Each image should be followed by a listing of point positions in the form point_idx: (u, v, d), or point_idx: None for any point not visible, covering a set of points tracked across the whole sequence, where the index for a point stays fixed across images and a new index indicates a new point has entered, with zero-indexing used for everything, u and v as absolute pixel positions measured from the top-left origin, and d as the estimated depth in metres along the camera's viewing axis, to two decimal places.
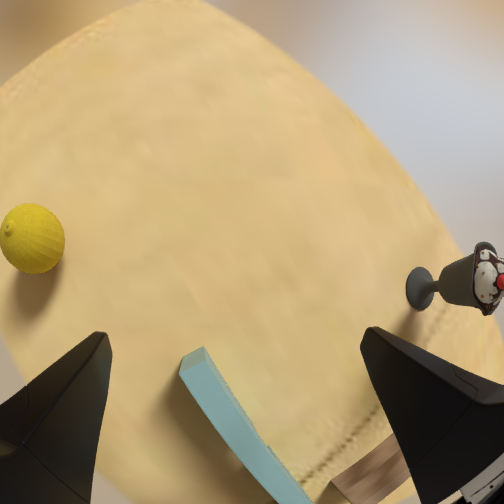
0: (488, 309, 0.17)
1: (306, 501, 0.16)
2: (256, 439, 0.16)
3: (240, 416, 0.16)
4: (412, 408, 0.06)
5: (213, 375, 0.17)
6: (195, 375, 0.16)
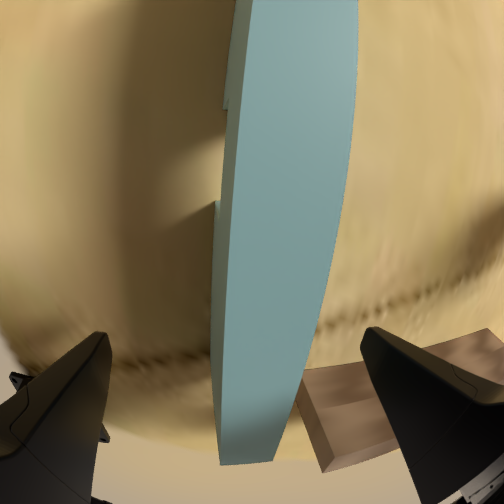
0: None
1: (290, 399, 0.07)
2: (353, 30, 0.04)
3: None
4: (412, 408, 0.06)
5: None
6: None
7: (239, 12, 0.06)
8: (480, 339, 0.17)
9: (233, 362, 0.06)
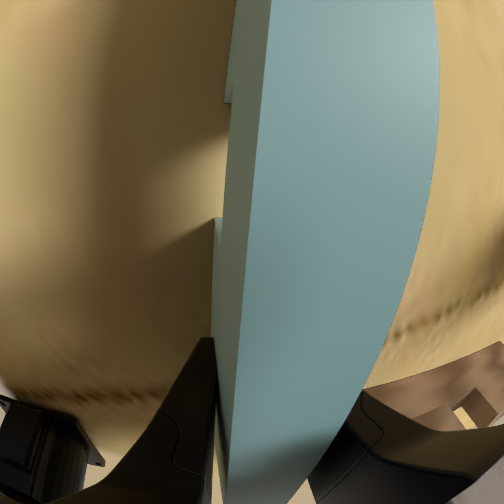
0: None
1: (309, 467, 0.05)
2: None
3: None
4: None
5: None
6: None
7: None
8: (494, 354, 0.15)
9: (243, 448, 0.04)
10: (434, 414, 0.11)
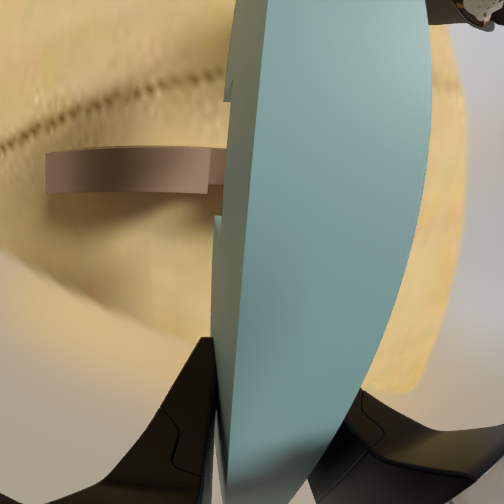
0: None
1: (310, 465, 0.05)
2: None
3: None
4: None
5: None
6: None
7: None
8: None
9: (243, 443, 0.04)
10: None
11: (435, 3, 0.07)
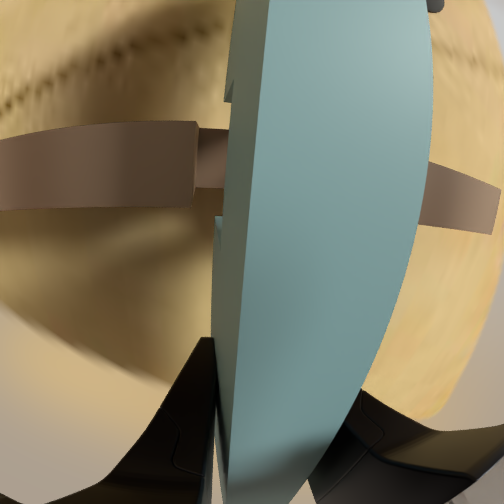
0: None
1: (310, 465, 0.05)
2: None
3: None
4: None
5: None
6: None
7: None
8: None
9: (243, 443, 0.04)
10: None
11: None
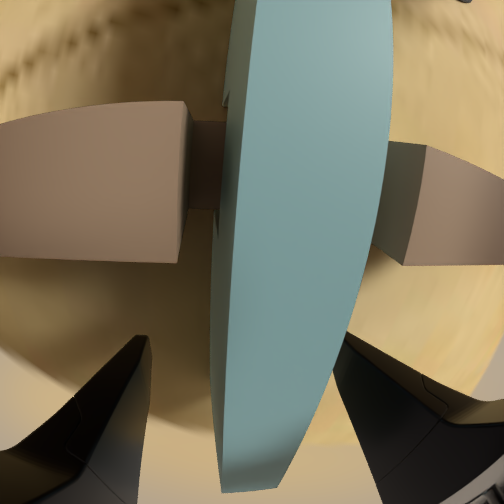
0: None
1: (298, 436, 0.06)
2: (386, 9, 0.02)
3: None
4: (377, 420, 0.06)
5: None
6: None
7: None
8: None
9: (236, 406, 0.05)
10: None
11: None
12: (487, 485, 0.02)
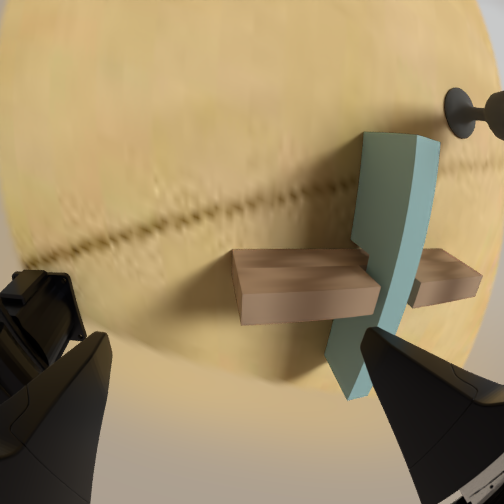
0: None
1: None
2: (420, 254, 0.15)
3: (428, 218, 0.14)
4: (412, 408, 0.06)
5: (437, 161, 0.13)
6: (427, 148, 0.12)
7: (376, 215, 0.17)
8: (429, 253, 0.21)
9: None
10: (342, 268, 0.18)
11: None
12: None
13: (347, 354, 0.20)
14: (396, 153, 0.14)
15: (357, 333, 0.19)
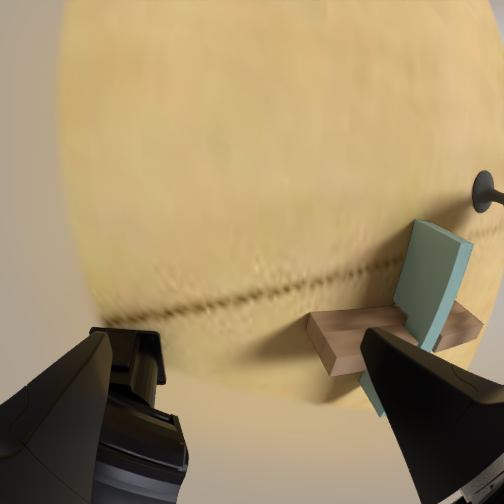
0: None
1: None
2: None
3: (455, 296, 0.19)
4: (412, 408, 0.06)
5: (468, 257, 0.17)
6: (464, 251, 0.17)
7: (418, 289, 0.21)
8: None
9: None
10: (391, 327, 0.22)
11: None
12: None
13: None
14: (441, 249, 0.19)
15: None
